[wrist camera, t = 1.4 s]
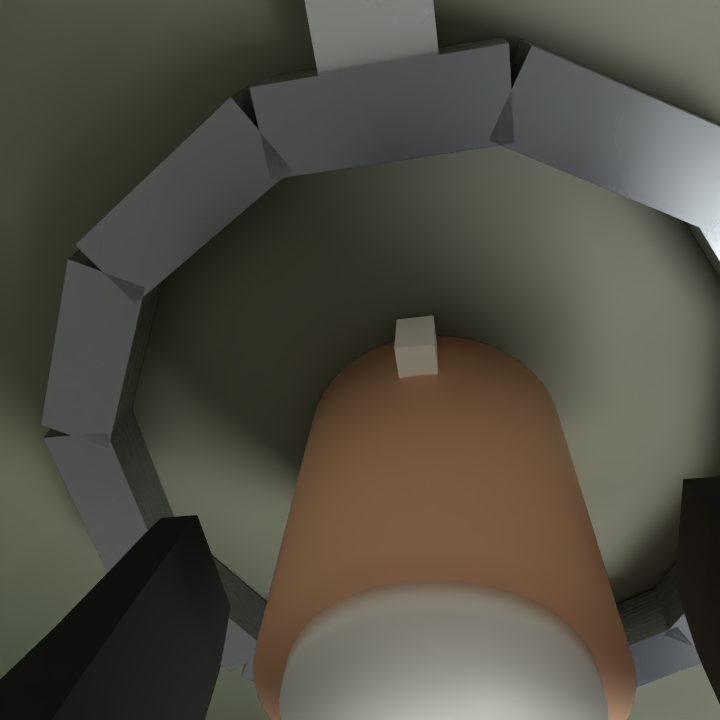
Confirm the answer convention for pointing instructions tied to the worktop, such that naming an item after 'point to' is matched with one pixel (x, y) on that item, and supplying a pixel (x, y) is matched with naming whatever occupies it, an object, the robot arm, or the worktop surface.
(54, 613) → the worktop surface
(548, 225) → the worktop surface
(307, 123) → the collar
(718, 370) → the worktop surface
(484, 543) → the pill bottle
